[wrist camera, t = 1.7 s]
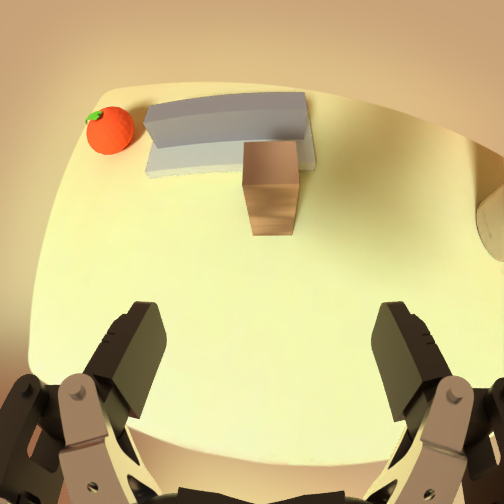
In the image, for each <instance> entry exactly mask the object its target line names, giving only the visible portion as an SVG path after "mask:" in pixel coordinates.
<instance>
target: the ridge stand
mask: <svg viewBox="0 0 504 504" xmlns="http://www.w3.org/2000/svg"><path fill="white" fill-rule="evenodd" d="M143 124H144V126H145V128H146V129H147V131H148V133H149V135H150V136H151V138H152V140H153V143H152V147H151V150H150V154H149V158H148V162H147V166H146V170H145V173H146V174H147V176H148V177H149V178H159V177H168V176H179V175H190V174H203V173H218V172H237V171H243V152H244V142H262V141H296V149H297V159H298V170H314V169H315V165H316V161H315V153H314V146H313V140H312V133H311V127H310V121H309V115H308V109H307V104H306V99H305V93H304V92H264V93H243V94H229V95H218V96H209V97H200V98H193V99H186V100H179V101H173V102H167V103H162V104H156V105H151V106H149V108H148V111H147V113H146V116H145V119H144V122H143Z"/></svg>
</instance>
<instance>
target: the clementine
mask: <svg viewBox="0 0 504 504" xmlns="http://www.w3.org/2000/svg"><path fill="white" fill-rule="evenodd" d="M87 119H91V120H90V122H89V124H88V127H87V140H88V143H89V144H90V146H91V147H92V148H93V149H94V150H95V151H96V152H98V153H101V154H104V155H110V154H115V153H117V152H120V151H121V150H122V149H124V148H125V147H126V146H127V145H128V144H129V142H130V140H131V138H132V136H133V132H134V125H133V120H132V118H131V116H130V115H129V113H128V112H127V111H125V110H123V109H122V108H119V107H107V108H104V109H101V110H100V111H97V112H94V113H92V114H90V115H89V116H88V118H87ZM87 119H86V121H85V122H86V124H87Z"/></svg>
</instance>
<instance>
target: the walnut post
mask: <svg viewBox="0 0 504 504" xmlns="http://www.w3.org/2000/svg"><path fill="white" fill-rule="evenodd" d="M242 186H243V191H244V195H245V200H246V205H247V210H248V214H249V219H250V224H251V228H252V233H253V236H267V235H292V232H293V226H294V219H295V213H296V206H297V200H298V193H299V186H300V181H299V170H298V159H297V149H296V141H262V142H244V152H243V180H242Z"/></svg>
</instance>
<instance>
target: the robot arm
mask: <svg viewBox="0 0 504 504" xmlns="http://www.w3.org/2000/svg"><path fill="white" fill-rule="evenodd" d="M476 219H477V227H478V231H479V234H480V237H481V239H482V242H483V244H484V245H485V247H486V249H487V250H488V252H489V253H490V254H491V255H492V256H493V257H494V258H495V259H497V260H499V261H504V183H503V184H502V185H501V186H499V187H498V188H497V189H496V190H495V191H494V192H492V193H491V194H490V195H489V196H488V197H487V198H485V199H484V200H483V201H482V202H481V203H480V204H479V206H478V209H477V214H476ZM166 343H167V337H166V332H165V329H164V326H163V322H162V319H161V316H160V312H159V309H158V306H157V304H156V303H154V302H140V301H136V302H134V303H133V305H132V307H131V308H130V310H129V311H128V313H127V314H122V315H121V316H120V317H119V318H118V319H116V320H115V321H114V322H113V323H112V325H111V326H110V328H109V329H108V331H107V334H105V336H104V338H103V339H102V343H101V342H100V344H99V346H98V347H97V349H96V351H95V352H94V354H93V356H92V358H91V359H90V361H89V363H88V364H87V366H86V368H85V370H84V371H83V373H82V374H81V373H79V374H73V375H71V376H69V377H67V378H66V379H65V380H64V381H63V382H62V383H61V385H43V384H42V382H41V381H40V380H39V379H38V377H37V376H35V375H33V374H26V375H23V376H21V377H20V378H19V379H18V380H17V381H16V382H15V383H14V385H13V387H12V389H11V390H10V392H9V394H8V396H7V398H6V400H5V401H4V403H3V405H2V407H1V409H0V504H57V502H58V499H59V495H60V491H61V488H62V484H63V480H65V483H66V487H67V490H68V493H69V496H70V499H71V502H72V504H253V503H249V502H246V501H242V500H238V499H235V498H231V497H228V496H225V495H222V494H219V493H213V492H205V491H198V490H192V489H187V488H181V487H179V489H178V493H172V494H164V495H163V494H162V492H161V490H160V488H159V486H158V485H157V483H156V482H155V480H154V479H153V478H152V476H151V475H150V474H149V472H148V471H147V469H146V468H145V466H144V464H143V462H142V460H141V457H140V455H139V453H138V451H137V448H136V446H135V444H134V442H133V439H132V437H131V434H130V431H129V429H128V427H127V425H126V421H127V419H128V416H129V417H133V418H137V419H140V416H141V413H142V410H143V408H144V405H145V402H146V399H147V396H148V394H149V391H150V388H151V386H152V383H153V380H154V377H155V375H156V372H157V369H158V367H159V364H160V362H161V359H162V356H163V354H164V351H165V348H166ZM371 346H372V351H373V354H374V357H375V360H376V363H377V366H378V369H379V372H380V375H381V378H382V382H383V385H384V388H385V391H386V395H387V398H388V402H389V405H390V409H391V412H392V416H393V420H394V422H397V421H401V420H405V421H406V424H407V426H406V427H405V429H404V431H403V433H402V435H401V437H400V439H399V441H398V443H397V445H396V447H395V449H394V451H393V453H392V455H391V457H390V459H389V461H388V463H387V464H386V466H385V468H384V470H383V471H382V473H381V474H380V476H379V477H378V478H377V479H376V480H375V481H374V483H373V484H372V485H371V487H370V488H369V489H368V491H367V492H366V494H365V495H364V497H363V498H362V499H358V498H353V497H345V493H344V491H338V492H330V493H321V494H311V495H302V496H299V497H295V498H291V499H287V500H284V501H279V502H274V503H269V504H452V503H453V501H454V498H455V496H456V493H457V491H458V488H459V486H460V483H461V481H462V487H463V494H464V501H465V504H504V378H499V379H498V380H496V381H495V383H494V384H493V385H492V386H491V388H472V387H471V385H470V384H469V383H468V382H467V381H466V380H465V379H463V378H461V377H459V376H453V375H452V373H451V371H450V369H449V367H448V365H447V363H446V361H445V359H444V357H443V355H442V354H441V352H440V350H439V348H438V346H437V344H435V340H434V339H433V337H432V335H430V332H429V330H428V328H427V326H426V325H425V323H424V322H423V321H422V320H421V319H420V318H419V317H417V316H416V315H415V314H410V312H409V311H408V309H407V307H406V305H405V304H404V303H403V302H402V301H398V302H384V303H382V304H381V306H380V309H379V313H378V316H377V319H376V323H375V326H374V329H373V332H372V337H371ZM36 425H38V426H39V427H40V428H41V429H42V431H41V433H40V436H39V439H38V441H37V443H36V446H35V449H34V451H33V454H32V456H31V457H30V458H29V456H28V454H27V447H28V444H29V442H30V439H31V437H32V435H33V432H34V430H35V428H36ZM493 431H494V434H495V437H496V440H497V444H498V447H499V451H500V455H501V460H500V463H499V465H497V463H496V460H495V456H494V452H493V448H492V445H491V442H490V438H489V435H490V434H491V433H492V432H493Z"/></svg>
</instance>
